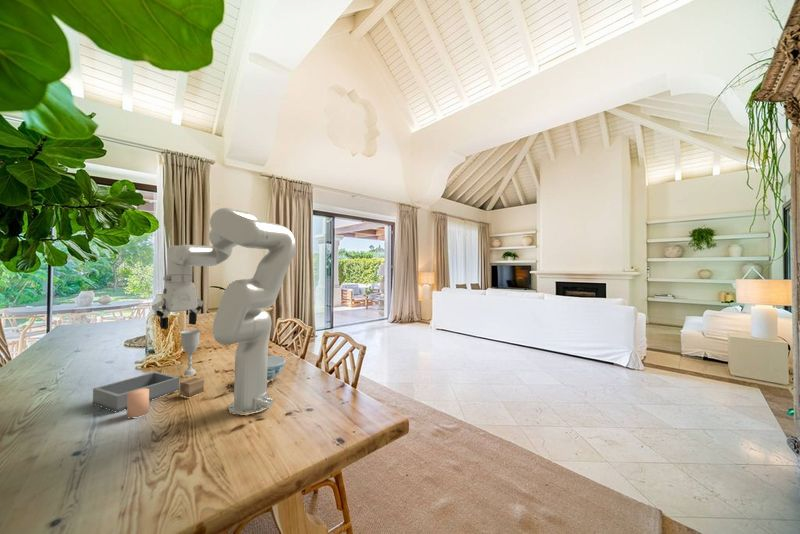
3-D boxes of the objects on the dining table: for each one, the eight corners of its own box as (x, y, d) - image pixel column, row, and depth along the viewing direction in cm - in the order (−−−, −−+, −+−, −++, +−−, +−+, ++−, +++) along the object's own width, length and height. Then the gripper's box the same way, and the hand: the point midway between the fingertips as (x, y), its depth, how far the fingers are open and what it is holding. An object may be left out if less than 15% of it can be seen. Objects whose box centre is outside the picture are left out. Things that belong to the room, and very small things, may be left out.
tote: (179, 391, 110) (179, 377, 110) (116, 412, 94) (117, 396, 94) (155, 384, 116) (155, 371, 116) (92, 403, 99) (93, 388, 99)
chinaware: (275, 388, 114) (276, 367, 114) (236, 387, 115) (236, 366, 115) (290, 374, 129) (291, 356, 129) (255, 373, 130) (256, 355, 130)
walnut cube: (203, 393, 109) (203, 379, 109) (189, 399, 104) (189, 384, 104) (194, 391, 111) (194, 377, 111) (179, 396, 106) (180, 382, 106)
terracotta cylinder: (152, 412, 94) (152, 390, 94) (132, 420, 89) (133, 396, 89) (142, 409, 96) (143, 387, 96) (123, 416, 91) (123, 393, 91)
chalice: (182, 379, 121) (183, 334, 121) (176, 375, 125) (177, 331, 126) (203, 374, 127) (203, 331, 127) (196, 371, 131) (197, 329, 131)
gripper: (159, 280, 103) (158, 331, 103) (209, 279, 119) (208, 323, 119) (146, 280, 106) (145, 329, 106) (196, 278, 122) (196, 321, 122)
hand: (178, 326), depth 112 cm, fingers open, 9 cm apart
